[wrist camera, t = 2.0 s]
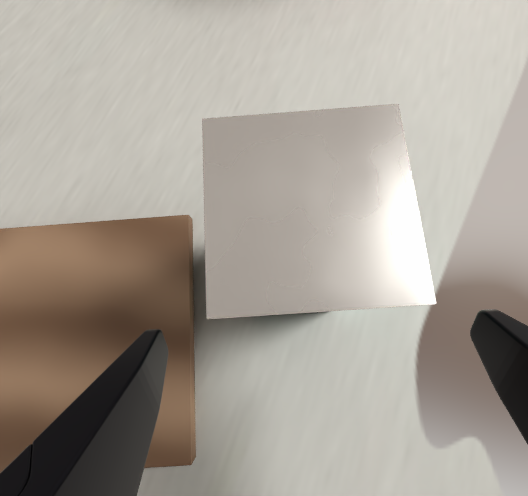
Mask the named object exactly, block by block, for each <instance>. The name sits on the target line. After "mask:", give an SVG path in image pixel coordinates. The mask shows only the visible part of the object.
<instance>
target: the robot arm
mask: <svg viewBox="0 0 528 496" xmlns="http://www.w3.org/2000/svg"><path fill="white" fill-rule="evenodd" d="M470 336H471V339H472V341H473V343H474V346H475V348H476V350H477V352H478V354H479V356H480V358H481V361H482V363H483V365H484V367H485V369H486V371H487V373H488V375H489V378H490V380H491V382H492V384H493V386H494V388H495V390H496V391H497V393H498V395H499V397H500V399H501V400H502V402H503V404H504V405H505V407H506V409H507V410H508V412H509V414H510V416H511V417H512V419H513V420H514V422H515V424H516V425H517V427H518V429H519V431H520V432H521V434H522V436H523V437H524V439H525V441H526V442H527V444H528V326H527V325H525V324H523V323H521V322H519V321H517V320H515V319H514V318H512V317H510V316H508V315H506V314H504V313H502V312H501V311H498V310H481V311H479V312H478V314H477V316H476V318H475V321H474V323H473V325H472V328H471V331H470ZM167 360H168V347H167V344H166V341H165V338H164V335H163V332H162V331H161V330H160V329H149V330H146V331H144V332H143V333H142V334H141V335H140V336H139V337H138V338H137V339H136V340H135V341H134V342H133V343H132V344H131V345H130V346H129V347H128V348H127V349H126V350H125V351H124V352H123V353H122V354H121V355H120V356H119V357H118V358H117V359H116V360H115V361H114V362H113V363H112V364H111V365H110V366H109V367H108V368H107V369H106V370H105V371H104V372H103V373H102V374H101V375H100V376H98V377H97V378H96V379H95V380H94V381H93V382H92V383H91V384H90V385H89V386H88V387H87V388H86V389H85V390H84V391H83V392H82V393H81V394H80V395H79V396H78V397H77V398H76V399H75V400H74V401H73V402H72V403H71V404H70V405H69V406H68V407H67V408H66V409H65V410H64V411H63V412H62V413H61V414H60V415H59V416H58V417H57V418H56V419H55V420H54V421H53V422H52V423H51V424H50V425H49V426H48V427H47V428H46V429H45V430H44V431H43V432H42V433H41V434H40V435H39V436H38V437H37V438H36V439H35V440H34V441H33V443H32V444H30V445H28V446H27V447H26V448H25V449H24V450H23V451H22V452H21V453H20V454H19V455H18V456H17V457H16V458H15V459H14V460H13V461H12V462H11V463H10V464H9V465H8V466H7V467H6V468H5V469H4V470H3V471H2V472H1V473H0V496H137V492H138V488H139V485H140V481H141V477H142V474H143V470H144V466H145V462H146V459H147V455H148V451H149V448H150V444H151V440H152V436H153V433H154V429H155V425H156V421H157V418H158V414H159V409H160V404H161V399H162V392H163V386H164V379H165V373H166V367H167Z"/></svg>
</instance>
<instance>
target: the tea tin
mask: <svg viewBox="0 0 528 496" xmlns="http://www.w3.org/2000/svg"><path fill="white" fill-rule="evenodd" d="M202 130H203V178H204V226H205V274H206V319H220V318H235V317H250V316H265V315H280V314H295V313H311V312H326V311H341V310H356V309H371V308H386V307H401V306H416V305H429V304H436V299H435V294H434V288H433V283H432V278H431V273H430V267H429V262H428V257H427V251H426V246H425V241H424V236H423V230H422V225H421V220H420V215H419V209H418V204H417V199H416V193H415V188H414V183H413V178H412V172H411V167H410V162H409V157H408V151H407V146H406V141H405V135H404V130H403V125H402V120H401V114H400V109H399V104H389V105H376V106H363V107H350V108H337V109H324V110H311V111H298V112H285V113H272V114H259V115H246V116H233V117H220V118H207V119H202Z"/></svg>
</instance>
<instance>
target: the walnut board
mask: <svg viewBox="0 0 528 496" xmlns="http://www.w3.org/2000/svg"><path fill="white" fill-rule="evenodd" d="M149 329H160V330H161V331H162V332H163V335H164V338H165V341H166V344H167V347H168V360H167V367H166V373H165V379H164V386H163V392H162V399H161V404H160V409H159V414H158V418H157V421H156V425H155V429H154V433H153V436H152V440H151V444H150V448H149V451H148V455H147V459H146V462H145V466H144V468H149V467H166V466H183V465H191V464H192V462H193V461H194V459H195V457H196V444H195V371H194V299H193V226H192V218H191V217H190V216H189V215H179V216H166V217H153V218H139V219H126V220H112V221H99V222H86V223H72V224H59V225H46V226H32V227H19V228H5V229H0V473H1V472H2V471H3V470H4V469H5V468H6V467H7V466H8V465H9V464H10V463H11V462H12V461H13V460H14V459H15V458H16V457H17V456H18V455H19V454H20V453H21V452H22V451H23V450H24V449H25V448H26V447H27V446H28V445H30V444H32V443H33V441H34V440H35V439H36V438H37V437H38V436H39V435H40V434H41V433H42V432H43V431H44V430H45V429H46V428H47V427H48V426H49V425H50V424H51V423H52V422H53V421H54V420H55V419H56V418H57V417H58V416H59V415H60V414H61V413H62V412H63V411H64V410H65V409H66V408H67V407H68V406H69V405H70V404H71V403H72V402H73V401H74V400H75V399H76V398H77V397H78V396H79V395H80V394H81V393H82V392H83V391H84V390H85V389H86V388H87V387H88V386H89V385H90V384H91V383H92V382H93V381H94V380H95V379H96V378H97V377H98V376H100V375H101V374H102V373H103V372H104V371H105V370H106V369H107V368H108V367H109V366H110V365H111V364H112V363H113V362H114V361H115V360H116V359H117V358H118V357H119V356H120V355H121V354H122V353H123V352H124V351H125V350H126V349H127V348H128V347H129V346H130V345H131V344H132V343H133V342H134V341H135V340H136V339H137V338H138V337H139V336H140V335H141V334H142V333H143V332H144V331H146V330H149Z"/></svg>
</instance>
